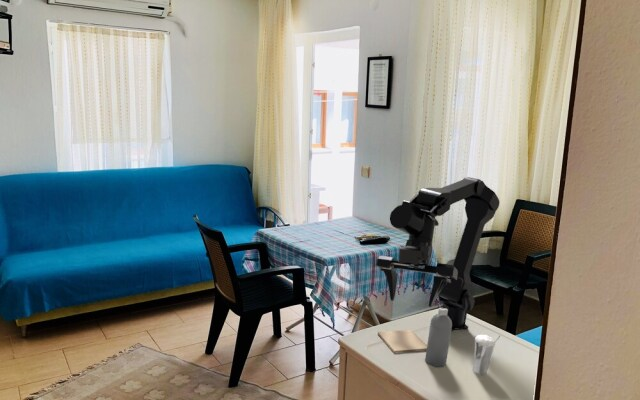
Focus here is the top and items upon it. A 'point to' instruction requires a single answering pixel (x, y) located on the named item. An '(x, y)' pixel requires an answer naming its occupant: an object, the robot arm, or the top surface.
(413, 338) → the cork mat
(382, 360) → the top surface
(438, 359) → the grey bottle
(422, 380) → the top surface
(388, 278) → the robot arm
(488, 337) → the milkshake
